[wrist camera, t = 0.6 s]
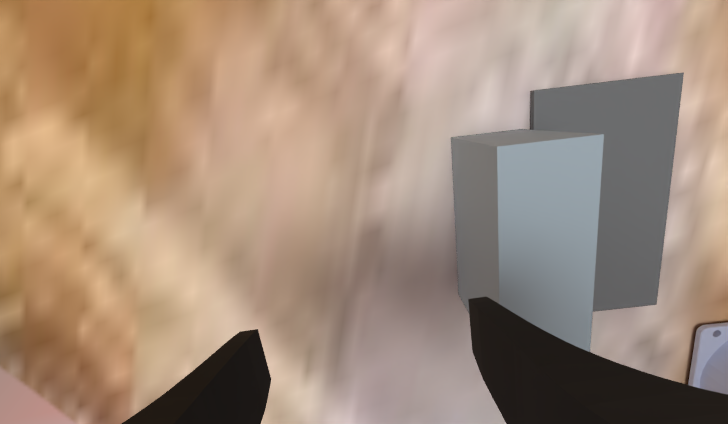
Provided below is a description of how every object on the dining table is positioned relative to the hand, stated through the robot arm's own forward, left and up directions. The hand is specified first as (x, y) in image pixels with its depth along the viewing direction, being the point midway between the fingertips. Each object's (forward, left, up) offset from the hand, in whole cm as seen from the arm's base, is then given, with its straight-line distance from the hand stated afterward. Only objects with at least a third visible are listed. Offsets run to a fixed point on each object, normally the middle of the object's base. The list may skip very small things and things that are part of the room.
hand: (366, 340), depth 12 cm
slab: (-8, -1, -10) cm, 13 cm away
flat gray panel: (-14, -1, -10) cm, 17 cm away
